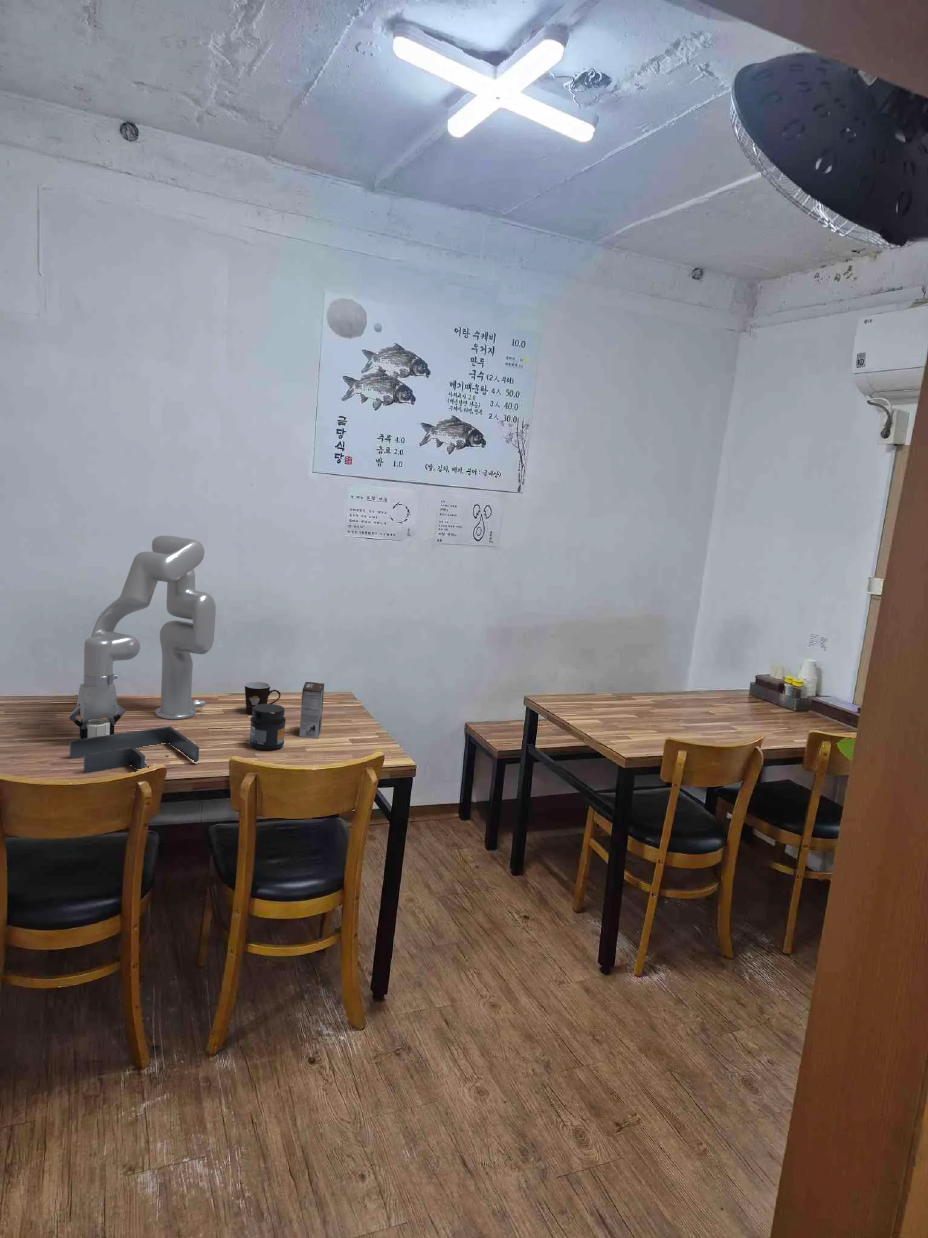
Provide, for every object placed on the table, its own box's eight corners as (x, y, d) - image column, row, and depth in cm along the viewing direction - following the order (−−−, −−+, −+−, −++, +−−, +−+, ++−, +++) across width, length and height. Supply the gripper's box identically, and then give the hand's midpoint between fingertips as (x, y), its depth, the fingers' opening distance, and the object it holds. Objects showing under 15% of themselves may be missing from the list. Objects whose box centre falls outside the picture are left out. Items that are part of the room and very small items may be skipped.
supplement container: (289, 743, 241) (292, 706, 239) (274, 753, 231) (276, 715, 229) (259, 737, 243) (261, 701, 241) (242, 747, 233) (244, 709, 231)
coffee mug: (237, 713, 264) (239, 685, 263) (253, 707, 272) (255, 680, 271) (265, 720, 260) (267, 691, 259) (280, 714, 268) (282, 686, 266)
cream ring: (104, 737, 230) (105, 718, 229) (112, 744, 225) (112, 724, 224) (81, 740, 225) (82, 721, 224) (88, 747, 221) (89, 727, 220)
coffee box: (302, 728, 256) (305, 681, 253) (321, 729, 257) (325, 682, 254) (298, 737, 247) (301, 688, 244) (318, 738, 248) (322, 690, 245)
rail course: (170, 742, 231) (170, 726, 230) (198, 764, 217) (199, 747, 216) (69, 757, 212) (69, 740, 211) (93, 782, 198) (93, 764, 197)
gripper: (124, 673, 231) (122, 731, 234) (61, 679, 219) (60, 739, 222) (133, 680, 225) (131, 738, 228) (69, 686, 213) (68, 747, 217)
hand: (96, 738), depth 225 cm, fingers closed on cream ring, 6 cm apart
